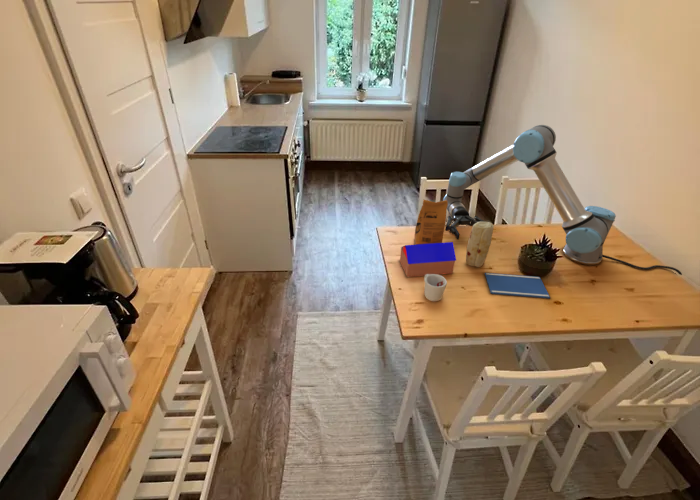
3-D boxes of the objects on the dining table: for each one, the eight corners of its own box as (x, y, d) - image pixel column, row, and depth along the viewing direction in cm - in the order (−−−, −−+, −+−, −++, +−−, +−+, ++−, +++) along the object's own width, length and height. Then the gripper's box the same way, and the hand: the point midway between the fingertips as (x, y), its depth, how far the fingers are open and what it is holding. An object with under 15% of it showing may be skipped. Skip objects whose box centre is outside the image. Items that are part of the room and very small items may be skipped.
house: (453, 273, 158) (458, 250, 151) (406, 277, 155) (409, 253, 148) (443, 257, 168) (447, 234, 161) (398, 260, 165) (401, 237, 158)
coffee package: (413, 236, 181) (418, 194, 169) (439, 238, 181) (447, 195, 169) (414, 248, 173) (420, 204, 161) (442, 250, 172) (450, 206, 160)
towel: (539, 277, 157) (539, 276, 156) (549, 298, 146) (550, 297, 145) (484, 273, 158) (484, 272, 158) (490, 293, 147) (491, 292, 147)
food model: (480, 258, 168) (490, 218, 157) (488, 267, 162) (499, 225, 151) (460, 261, 165) (469, 220, 154) (467, 270, 160) (477, 228, 149)
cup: (414, 288, 149) (417, 271, 145) (432, 284, 152) (435, 267, 147) (429, 306, 141) (432, 289, 136) (447, 301, 143) (451, 284, 139)
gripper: (482, 219, 184) (500, 243, 166) (431, 220, 182) (443, 244, 165) (486, 205, 180) (504, 228, 162) (434, 206, 178) (446, 229, 161)
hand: (474, 236), depth 163 cm, fingers open, 13 cm apart
